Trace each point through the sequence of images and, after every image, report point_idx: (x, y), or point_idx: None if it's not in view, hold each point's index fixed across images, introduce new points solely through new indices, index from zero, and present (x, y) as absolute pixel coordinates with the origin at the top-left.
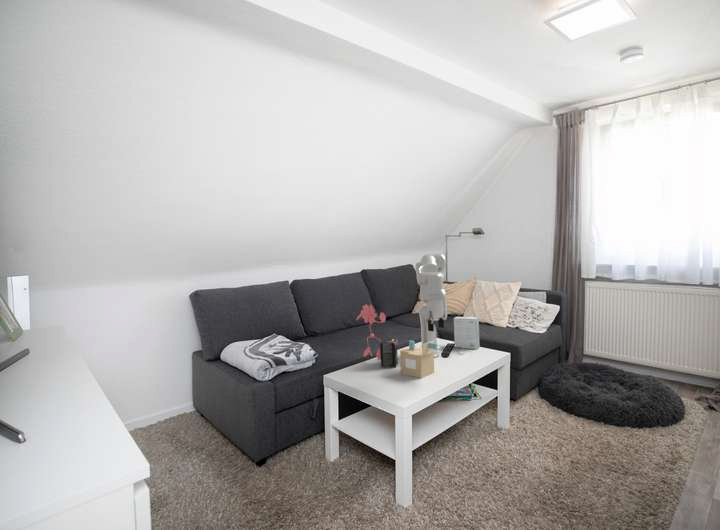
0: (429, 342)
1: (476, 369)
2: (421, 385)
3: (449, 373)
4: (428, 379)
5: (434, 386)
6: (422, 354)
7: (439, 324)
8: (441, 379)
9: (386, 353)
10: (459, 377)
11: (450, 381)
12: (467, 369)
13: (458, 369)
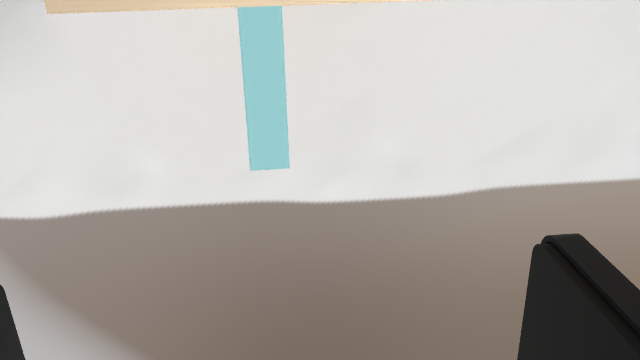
0: (267, 7)
1: (625, 174)
2: (7, 68)
3: (421, 68)
4: (170, 20)
5: (76, 161)
6: None
7: (573, 327)
8: None
9: None
10: (380, 183)
11: (257, 185)
12: (594, 122)
13: (559, 65)
